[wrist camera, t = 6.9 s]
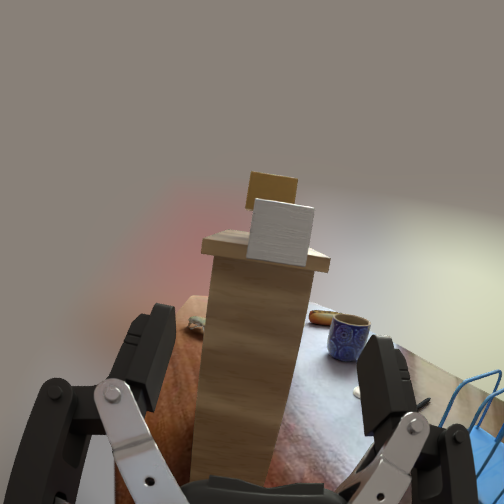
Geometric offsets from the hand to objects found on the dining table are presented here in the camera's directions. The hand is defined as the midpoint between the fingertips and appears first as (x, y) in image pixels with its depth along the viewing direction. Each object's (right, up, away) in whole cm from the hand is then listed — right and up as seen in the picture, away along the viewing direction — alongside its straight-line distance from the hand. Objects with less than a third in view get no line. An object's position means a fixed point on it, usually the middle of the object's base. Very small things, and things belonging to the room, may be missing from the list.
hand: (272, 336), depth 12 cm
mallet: (0, +4, +15) cm, 15 cm away
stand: (-4, -26, +27) cm, 38 cm away
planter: (+24, -26, +70) cm, 79 cm away
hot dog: (+26, -23, +99) cm, 105 cm away
